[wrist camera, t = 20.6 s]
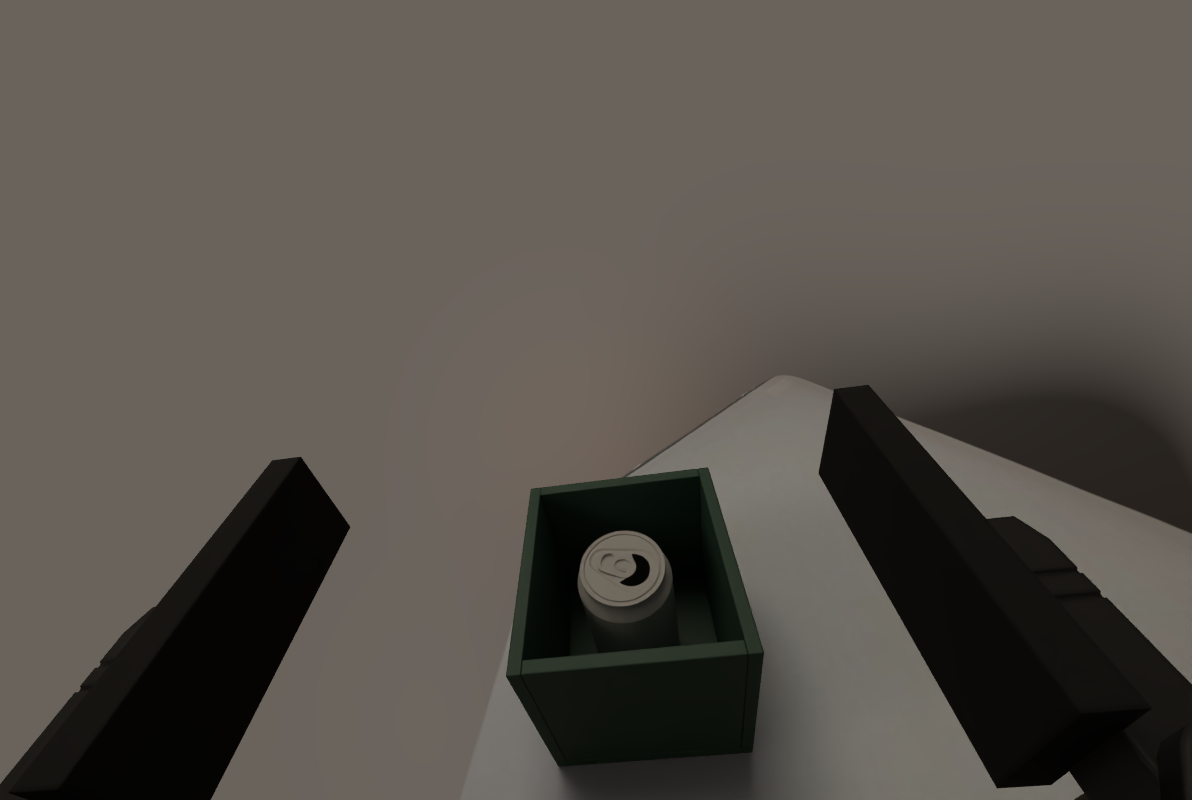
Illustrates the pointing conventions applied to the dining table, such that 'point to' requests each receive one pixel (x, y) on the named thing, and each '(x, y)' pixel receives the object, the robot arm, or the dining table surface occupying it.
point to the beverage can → (628, 593)
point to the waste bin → (647, 676)
